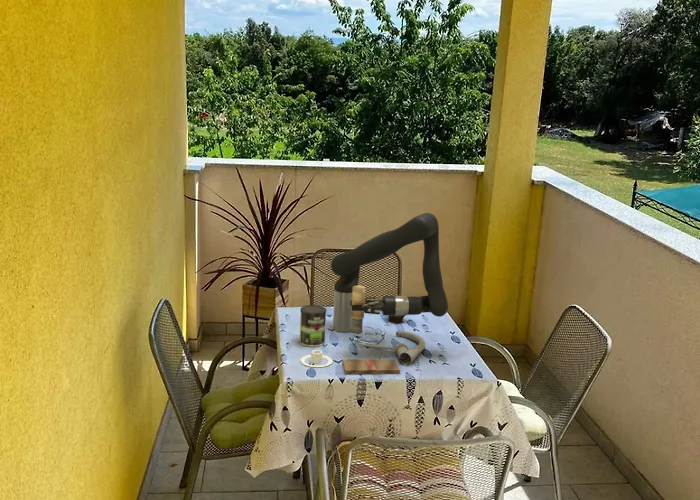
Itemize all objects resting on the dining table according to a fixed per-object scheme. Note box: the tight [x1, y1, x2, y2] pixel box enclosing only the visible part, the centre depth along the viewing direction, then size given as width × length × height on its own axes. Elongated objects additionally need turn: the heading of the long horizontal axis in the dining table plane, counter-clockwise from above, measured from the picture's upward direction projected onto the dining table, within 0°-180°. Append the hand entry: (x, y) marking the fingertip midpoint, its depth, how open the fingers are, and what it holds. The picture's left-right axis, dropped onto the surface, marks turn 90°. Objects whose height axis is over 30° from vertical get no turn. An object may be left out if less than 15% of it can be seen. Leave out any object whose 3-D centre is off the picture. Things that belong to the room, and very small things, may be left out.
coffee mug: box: [387, 315, 407, 325], centre depth 296 cm, size 12×9×10 cm
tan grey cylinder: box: [351, 285, 366, 335], centre depth 255 cm, size 5×5×18 cm
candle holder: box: [300, 349, 333, 368], centre depth 250 cm, size 12×12×4 cm
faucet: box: [358, 329, 426, 366], centre depth 268 cm, size 5×28×28 cm
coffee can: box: [299, 304, 327, 348], centre depth 267 cm, size 10×10×14 cm
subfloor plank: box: [342, 358, 401, 375], centre depth 246 cm, size 20×10×2 cm, turn 97°
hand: (351, 305), depth 254 cm, fingers closed on tan grey cylinder, 4 cm apart
